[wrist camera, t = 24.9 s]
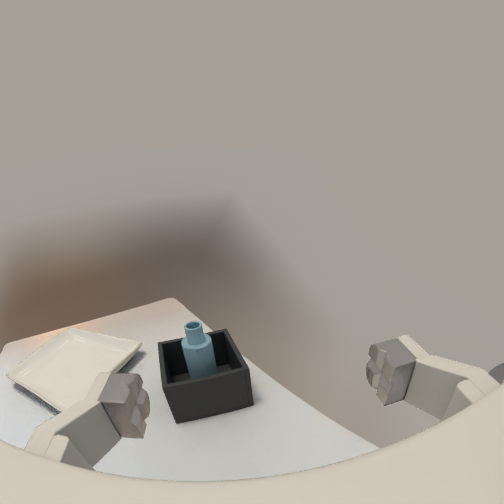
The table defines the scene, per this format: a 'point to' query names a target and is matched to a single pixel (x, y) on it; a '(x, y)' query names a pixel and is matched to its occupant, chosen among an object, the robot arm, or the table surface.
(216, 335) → the bin
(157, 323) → the table surface
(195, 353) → the bottle
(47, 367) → the square plate
